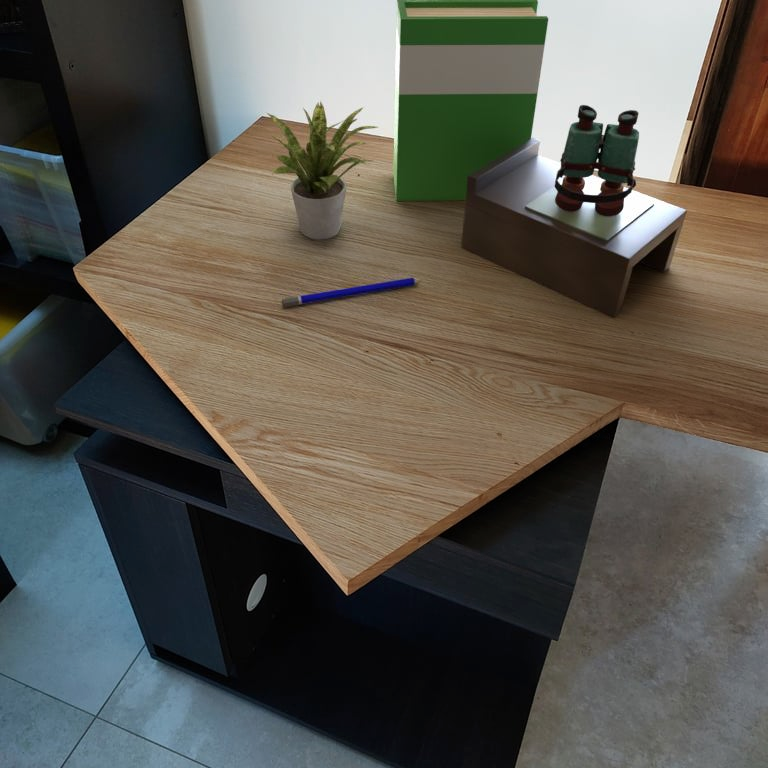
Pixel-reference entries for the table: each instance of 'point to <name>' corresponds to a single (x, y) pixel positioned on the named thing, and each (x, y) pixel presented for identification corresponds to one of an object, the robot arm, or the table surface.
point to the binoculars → (611, 164)
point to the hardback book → (462, 90)
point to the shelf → (564, 230)
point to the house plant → (318, 173)
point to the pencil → (349, 291)
